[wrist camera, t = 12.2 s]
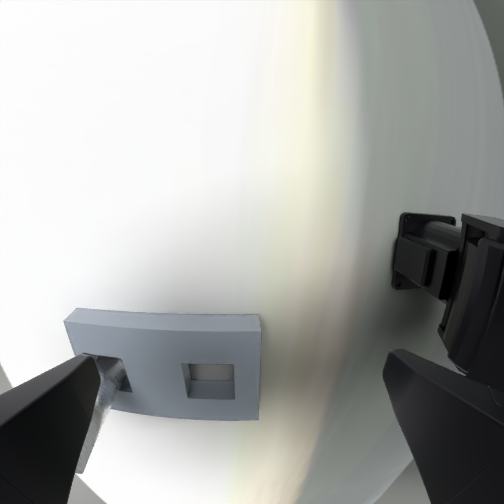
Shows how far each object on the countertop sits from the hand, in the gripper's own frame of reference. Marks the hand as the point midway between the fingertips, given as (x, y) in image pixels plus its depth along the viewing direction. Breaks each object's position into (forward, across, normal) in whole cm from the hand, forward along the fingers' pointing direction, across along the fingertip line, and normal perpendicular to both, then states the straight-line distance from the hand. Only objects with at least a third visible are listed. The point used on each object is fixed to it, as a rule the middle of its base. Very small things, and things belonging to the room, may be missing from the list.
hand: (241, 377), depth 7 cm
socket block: (+13, +6, +10) cm, 18 cm away
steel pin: (+13, +11, +10) cm, 20 cm away
